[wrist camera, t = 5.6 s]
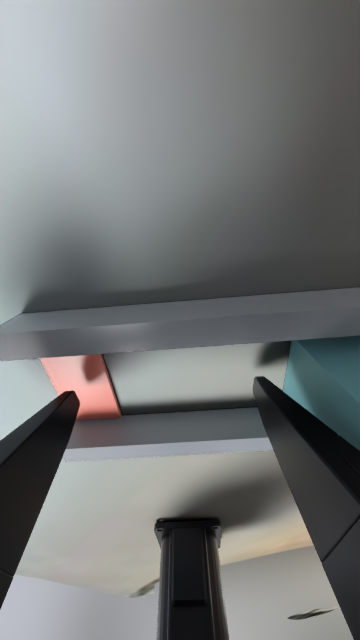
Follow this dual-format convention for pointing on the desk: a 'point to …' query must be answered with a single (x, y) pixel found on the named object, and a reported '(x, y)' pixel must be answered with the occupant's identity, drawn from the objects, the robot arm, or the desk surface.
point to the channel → (158, 334)
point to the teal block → (327, 382)
